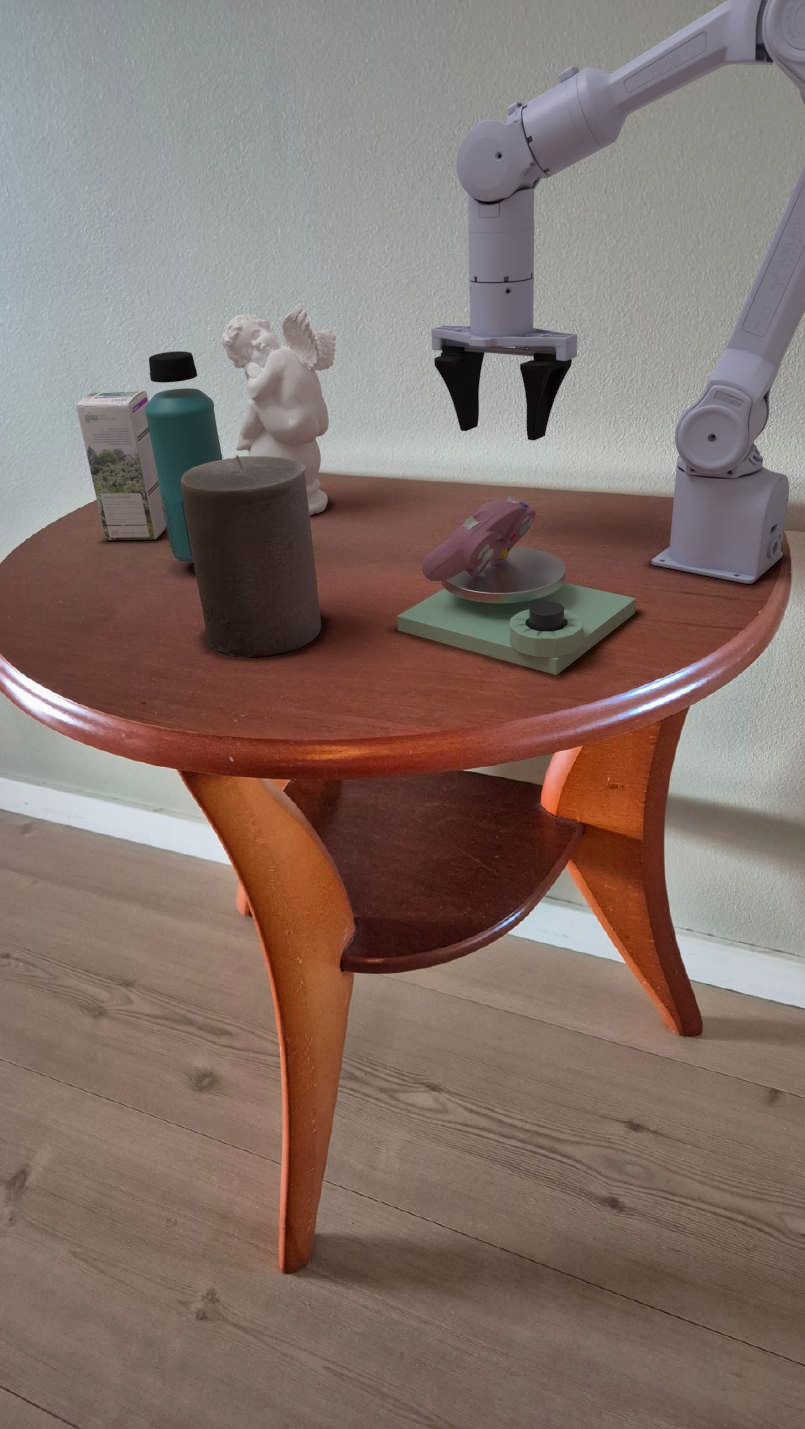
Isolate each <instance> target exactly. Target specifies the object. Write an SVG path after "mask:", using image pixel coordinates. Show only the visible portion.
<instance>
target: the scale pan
mask: <svg viewBox="0 0 805 1429" xmlns="http://www.w3.org/2000/svg"><path fill="white" fill-rule="evenodd" d="M566 578H567V567H566V564H565V562H564V561H563V560H562V559H561V558H560V557H558V556H556V555H554V554H553V553H551V552H548V551H544V550H541V549H537V548H532V547H526V546H516V545H514V546H513V547H512V548H511V550H510V551H509V555H508V556H507V558H505V559H503V560H502V561H501V562H500V563H498V564H494V563H493V562H491V561H489V563H488V565H487V566H486V568H485V569H484V570H483V571H482V573H480V574H479V575H478V576H477V577H473V576H471V575H470V574H469V573H467V571H466V570H464V571H462V572H461V573H459V574H457V575H456V576H454V577H452V578H450V579H448V580H444V581H440V584H441V585H442V587H443V589H444V588H445V589H446V590H447V591H448V592H450V593H452V594H454V595H456V596H458V597H461V598H464V599H467V600H472V601H477V602H485V603H516V602H524V601H530V600H534V599H538V598H542V597H544V596H547V595H549V594H552V593H554V592H555V591H557V590H558V589H559V588H561V587H562V585H563V584H564V582H565V583H566V580H567V579H566Z"/></svg>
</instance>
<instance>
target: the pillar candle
mask: <svg viewBox="0 0 805 1429" xmlns="http://www.w3.org/2000/svg"><path fill="white" fill-rule="evenodd" d="M305 468H306V467H305V465H303V464H300V463H298V462H297V461H296V460H291V459H288V458H282V457H271V456H249V455H240V456H239V454H235V457H231V458H229V457H228V458H222V460H217V461H213V462H209V463H206V464H202V465H199V466H197V467H193V468H191V469H190V470H188V471H187V472H185V473H184V474H183V476H182V477H181V487H182V493H183V500H184V508H185V514H186V519H187V525H188V532H189V537H190V543H191V549H192V554H193V562H194V563H193V567H194V568H193V569H194V573H195V574H194V575H195V579H196V584H197V588H198V594H199V599H200V601H199V602H200V603H201V605H200V606H201V611H202V615H203V616H202V617H203V621H204V626H205V627H204V628H205V631H206V640H207V643H208V645H209V647H211V648H212V649H213V650H214V651H217V652H220V653H222V654H224V655H228V656H230V657H241V658H259V657H270V656H274V655H275V656H276V655H280V654H281V655H282V654H285V653H289V652H292V651H295V650H297V649H300V648H302V647H304V646H306V645H307V644H308V643H311V642H312V641H313V640H315V639H316V638H317V637H318V635H319V634H320V633H321V630H322V619H321V612H320V610H321V609H320V601H319V600H320V599H319V590H318V579H317V572H316V571H317V570H316V564H315V554H314V545H313V535H312V534H313V533H312V527H311V515H309V506H308V499H307V489H306V481H305V471H306V469H305Z"/></svg>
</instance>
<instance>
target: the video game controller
mask: <svg viewBox="0 0 805 1429" xmlns="http://www.w3.org/2000/svg"><path fill="white" fill-rule="evenodd" d="M535 518H536V510H534V509H533V508H531V507H530V506H529V505H528V504H526V503H525V502H523V501H521V500H518V501H516V500H515V498H514V496H512V495H510V496H509V497H508V498H507V499H506V500H505V499H499V500H492V501H489V502H485V503H482V505H480V506H479V507H478V508H477V509H476V510H475V511H474V513H473V515H471V517H468V518H467V519H466V520H465V521H464V522H463V523H461V524H460V525H459V526H458V527H457V528H456V529H455V530H454V531H453V532H452V534H451V535H450V536H449V537H448V538H447V539H446V540H445V541H444V542H443V543H442V544H441V545H439V546H437V547H436V548H434V549H433V550H432V551H430V552H429V553H428V554H426V556H425V558H424V559H423V561H422V573H423V575H424V576H425V578H426V579H427V580H429V581H432V582H441V581H444V580H448V579H450V578H452V577H454V576H456V575H457V574H459V573H461V572H462V571H464V570H466V571H467V573H469V574H470V575H471V576H473V577H477V576H478V575H479V574H480V573H482V571H483V570H484V569H485V568H486V566H487V565H488V563H489V561H491V562H493V563H494V564H498V563H500V562H501V561H502V560H503V559H505V558H507V556H508V555H509V551H510V550H511V548H512V547H513V546H516V544H517V543H518V542H519V541H520V540H521V539H522V538H523V537H524V536H525V534H526V533H527V532H528V531H529V529H530V528H531V526H532V524H533V522H534V520H535Z"/></svg>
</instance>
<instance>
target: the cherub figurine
mask: <svg viewBox="0 0 805 1429" xmlns="http://www.w3.org/2000/svg"><path fill="white" fill-rule="evenodd" d="M302 303H303V302H302V301H300V302H298V304H297V305H295V306H294V307H293V308H292V309H291V311H290V312H289V313H287V314H285V316H284V317H283V320H282V323H281V329H282V335H283V336H282V337H284V338H283V339H282V340H279V337H278V336H277V335H276V334H275V332H274V330H273V328H272V327H271V326H270V322H269V321H268V320H267V319H262V318H260V317H259V316H258V314H257V313H256V314H252V315H251V314H250V313H247V314H237V315H236V316H234V317H233V318H231V320H229V322H228V323H227V324H225V326H224V328H225V330H224V332H223V333H222V334H221V336H220V337H221V340H220V342H221V344H222V346H223V348H224V350H225V352H226V355H227V358H228V359H229V360H231V361H232V364H233V366H234V368H235V369H244V375H245V378H246V380H247V386H246V387H247V388H246V389H247V392H248V395H249V397H250V398H249V399H248V400H249V401H248V405H247V409H246V411H245V413H244V417H243V420H242V424H241V426H240V430H239V435H238V438H237V443H236V448H235V449H236V451H238V452H240V451H241V452H242V451H247V452H248V456H271V457H282V458H288V459H291V460H296V461H297V462H298V463H300V464H303V465H305V467H306V468H305V469H306V471H305V481H306V489H307V499H308V506H309V515H310V516H312V515H314V514H319V513H320V512H321V513H322V512H324V510H326V507H327V505H328V502H329V498H328V494H327V493H326V492H325V491H323V490H321V489H320V487H321V482H320V480H319V478H317V476H318V475H319V471H320V468H321V462H322V458H321V450H320V446H319V443H318V442H317V437H322V436H323V435H325V434H326V433H327V431H328V430H329V424H330V421H329V420H330V419H329V418H330V417H329V411H328V407H327V403H326V401H325V399H324V395H323V391H322V385H321V382H320V379H319V377H318V376H319V375H318V374H317V372H316V371H319V372H321V371H326V370H329V369H330V367H333V366H334V360H335V355H336V353H335V352H336V345H337V343H336V336H335V334H332V333H333V331H332V330H331V329H330V328H325V329H323V330H319V329H316V328H313V327H311V326H310V325H311V323H310V321H309V319H308V318H307V317H308V313H307V310H305V309H304V310H303V304H302ZM281 342H284V343H285V345H287V346H285V345H282V344H281Z"/></svg>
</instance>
